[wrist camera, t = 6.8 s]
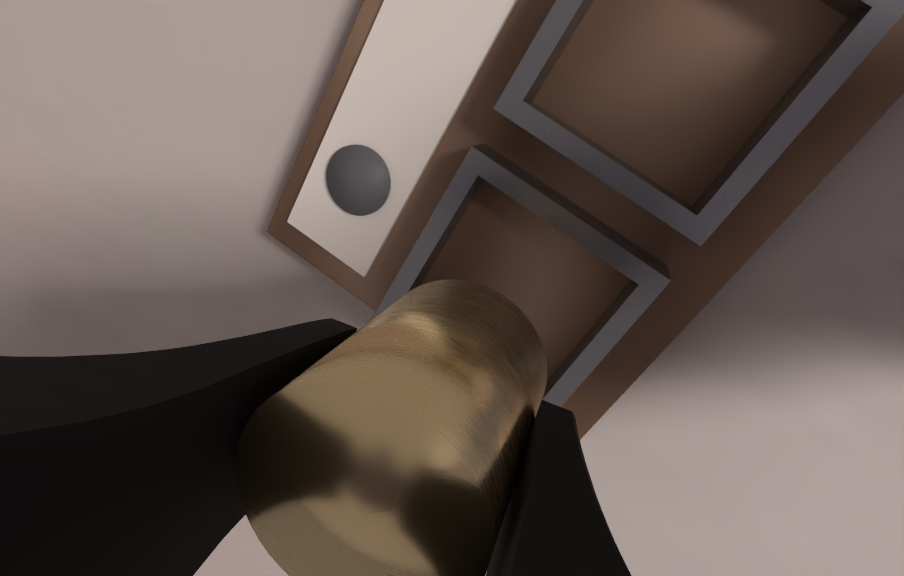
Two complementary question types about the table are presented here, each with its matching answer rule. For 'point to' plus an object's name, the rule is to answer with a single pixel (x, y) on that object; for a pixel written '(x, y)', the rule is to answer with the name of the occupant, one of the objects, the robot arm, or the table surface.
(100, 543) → the robot arm
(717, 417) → the table surface
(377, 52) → the board
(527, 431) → the brass peg
